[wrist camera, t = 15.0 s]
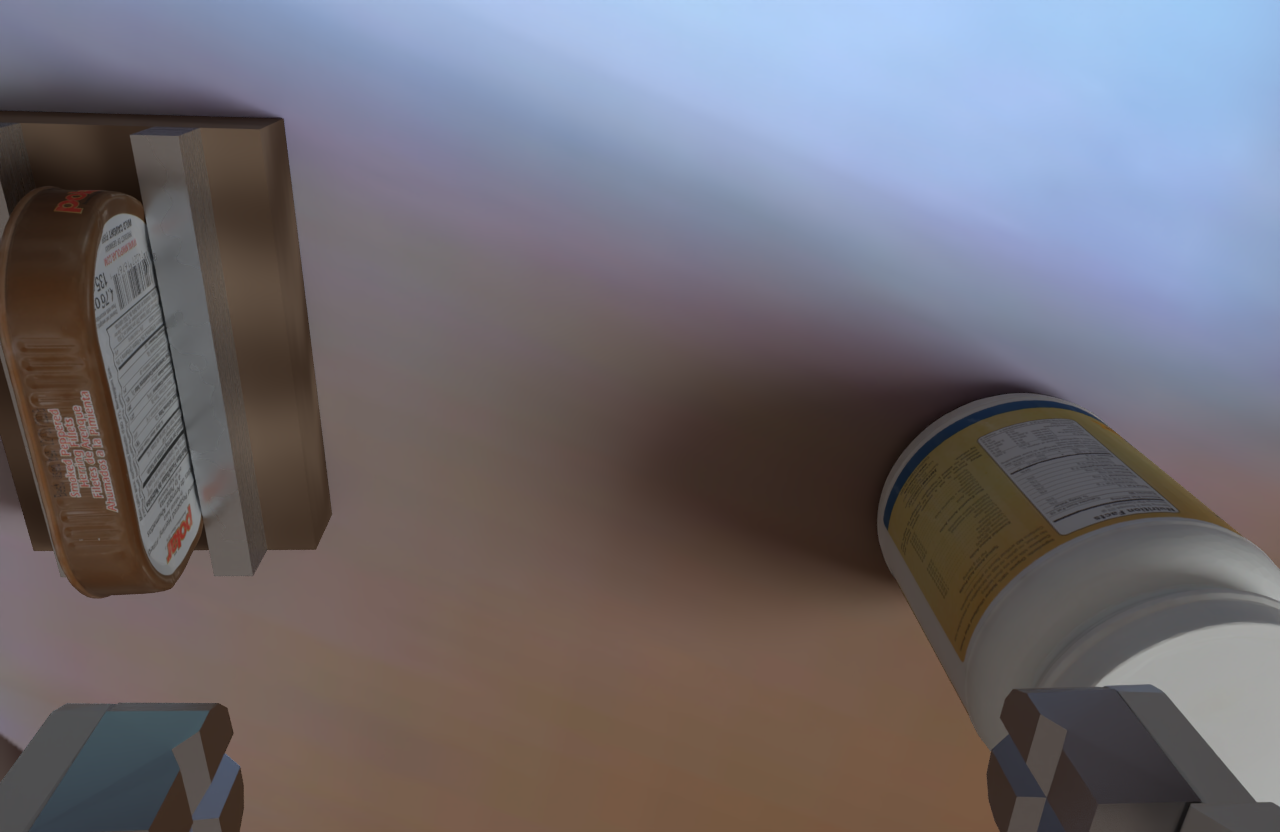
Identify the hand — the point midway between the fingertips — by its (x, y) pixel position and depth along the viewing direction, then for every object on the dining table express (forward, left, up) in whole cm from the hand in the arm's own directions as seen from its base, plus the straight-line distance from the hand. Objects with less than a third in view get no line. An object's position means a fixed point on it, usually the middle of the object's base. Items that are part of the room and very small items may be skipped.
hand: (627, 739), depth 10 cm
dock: (+7, -18, -31) cm, 37 cm away
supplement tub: (+15, +20, -31) cm, 40 cm away
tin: (+7, -17, -28) cm, 34 cm away
